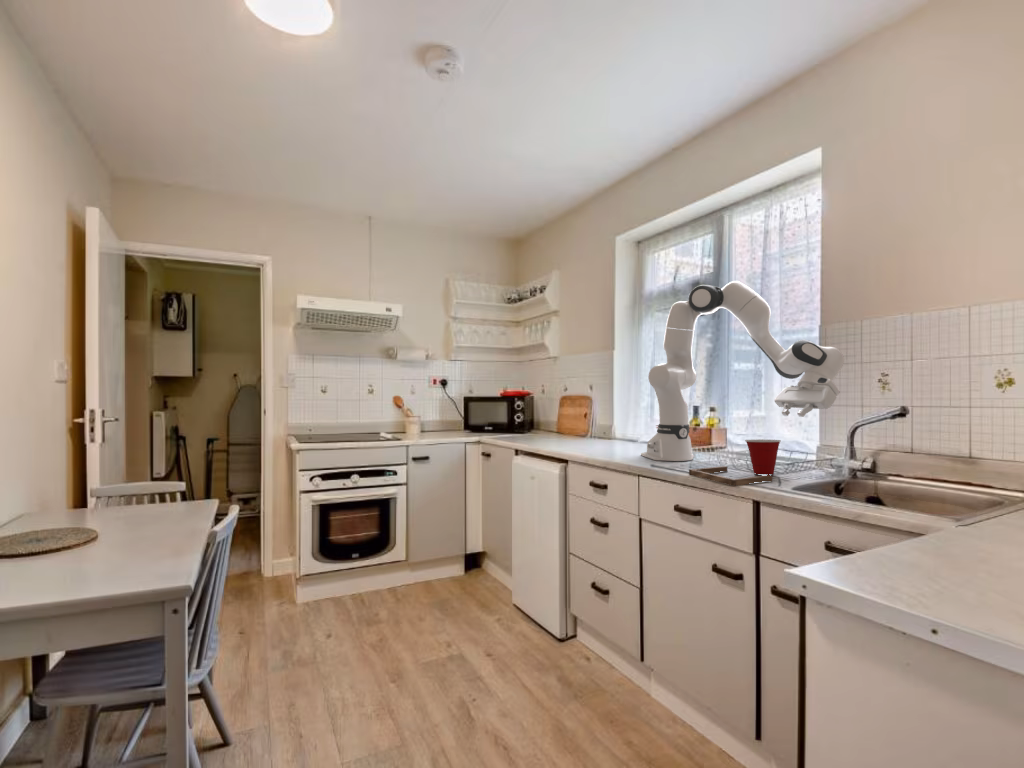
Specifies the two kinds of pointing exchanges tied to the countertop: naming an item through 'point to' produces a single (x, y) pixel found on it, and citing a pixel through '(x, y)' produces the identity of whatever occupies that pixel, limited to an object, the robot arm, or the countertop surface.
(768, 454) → the plastic cup
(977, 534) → the countertop surface
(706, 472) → the tray
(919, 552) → the countertop surface
